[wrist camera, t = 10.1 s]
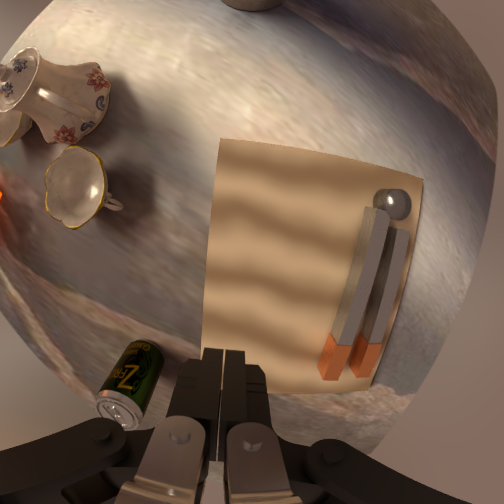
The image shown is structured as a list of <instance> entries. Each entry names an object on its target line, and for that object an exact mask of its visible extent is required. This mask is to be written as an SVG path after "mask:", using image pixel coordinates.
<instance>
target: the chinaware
mask: <svg viewBox="0 0 504 504" xmlns="http://www.w3.org/2000/svg"><path fill="white" fill-rule="evenodd" d="M110 88H111V84H110V82H109V81H108V79H107V78H106V77H105V75H104V74H103V72H102V70H101V68H100V66H99V64H98V63H96V62H88V63H83V64H79V65H68V66H64V65H57V64H54V63H51V62H49V61H47V60H45V59H43V58H42V57H41V55H40V54H39V51H38V50H37V49H36V47H27V48H25V49H24V50H22V51H20V52H18V53H17V54H16V56H15V57H14V58H12V59H11V60H10V61H9V63H8V64H7V65H2V64H0V148H3V147H5V146H7V145H9V144H11V143H14V142H15V141H17V140H19V139H20V138H21V137H22V136H23V135H24V134H25V133H26V132H27V131H28V130H29V129H30V127H32V122H33V120H34V121H35V122H36V123H37V124H38V126H39V128H40V130H41V133H42V135H43V137H44V139H45V140H46V142H47V143H49V144H55V143H67V144H75V143H77V142H78V141H79V140H80V139H81V138H82V137H85V136H87V135H88V134H90V133H91V132H92V131H94V130H95V129H96V128H97V127H98V125H99V124H100V123H101V122H102V120H103V118H104V117H105V115H106V112H107V110H108V107H109V102H110ZM60 157H61V158H57V159H56V160H55V161H53V162H52V163H51V164H50V166H49V168H48V169H47V170H46V175H45V185H46V190H47V191H48V192H47V194H46V200H45V204H46V209H47V212H48V213H49V214H50V215H51V217H52V218H54V219H56V220H58V221H62V223H63V224H64V225H65V226H66V227H67V228H70V229H72V230H76V229H78V228H79V227H81V226H83V225H84V224H85V223H87V222H88V221H89V220H90V218H92V217H94V216H95V215H96V214H97V212H98V211H99V210H100V209H101V208H102V206H103V205H104V207H107V208H109V209H111V210H114V211H120V210H122V209H123V204H122V203H120V202H119V201H117V200H115V199H112V198H110V197H111V193H109V192H107V190H108V178H107V174H106V171H105V169H104V167H103V161H102V159H101V158H100V157H98V156H97V155H96V154H95V153H93V152H91V151H88V150H87V149H85V148H84V147H81V146H77V145H71V146H69V147H68V148H66V149H65V150H64V151H63V153H62V154H61V156H60ZM105 199H106V201H104V200H105ZM107 200H108V201H110V202H112V203H114V204H116V205H118V206H116V205H112V204H108V201H107Z"/></svg>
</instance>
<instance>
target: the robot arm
mask: <svg viewBox="0 0 504 504" xmlns="http://www.w3.org/2000/svg"><path fill="white" fill-rule="evenodd" d="M221 1H222V2H224V3H225V4H227V5H229V6H231V7H233V8H237V9H240V10H247V11H260V10H266V9H271V8H273V7H276V6H278V5H280V4H281V3H282V2H283V1H284V0H221ZM223 354H224V349H217V348H208V347H204V351H203V356H202V360H197V359H188V360H187V361H186V362H185V363H184V364H183V365H182V366H181V368H180V371H179V374H178V378H177V381H176V386H175V388H174V391H173V395H172V398H171V401H170V405H169V408H168V412H167V415H166V418H165V419H163V420H161V421H160V422H159V423H158V424H157V425H156V427H154V428H151V429H147V430H131V431H125V430H124V428H123V427H122V426H121V425H120V424H119V423H118V422H116V421H114V420H112V419H109V418H104V417H99V418H93V419H90V420H88V421H85V422H83V423H80V424H78V425H75V426H73V427H70V428H68V429H65V430H62V431H60V432H57V433H55V434H52V435H49V436H46V437H43V438H40V439H38V440H35V441H32V442H29V443H25V444H23V445H19V446H16V447H13V448H9V449H6V450H2V451H0V504H202V499H203V494H204V488H205V483H206V478H207V475H208V469H209V461H216V450H217V436H218V422H219V409H220V397H221V384H222V368H223ZM218 461H222V462H224V475H223V489H224V503H225V504H471V503H468V502H466V501H463V500H460V499H457V498H455V497H452V496H449V495H447V494H444V493H442V492H439V491H437V490H435V489H432V488H430V487H428V486H426V485H423V484H421V483H419V482H417V481H414V480H413V479H410V478H408V477H406V476H404V475H402V474H400V473H398V472H396V471H395V470H393V469H391V468H389V467H387V466H385V465H383V464H381V463H380V462H378V461H376V460H374V459H372V458H371V457H369V456H367V455H365V454H364V453H362V452H360V451H359V450H357V449H355V448H353V447H352V446H350V445H349V444H347V443H345V442H343V441H340V440H337V439H323V440H320V441H317V442H316V443H314V444H313V445H312V446H311V447H309V446H303V445H298V444H294V443H290V442H288V441H285V440H283V439H282V438H280V437H279V436H278V435H277V434H276V433H275V431H274V430H273V428H272V424H271V416H270V408H269V401H268V394H267V386H266V377H265V373H264V372H263V370H262V369H261V368H260V366H259V365H255V364H245V351H241V350H229V349H226V350H225V361H224V373H223V386H222V399H221V412H220V428H219V447H218Z"/></svg>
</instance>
